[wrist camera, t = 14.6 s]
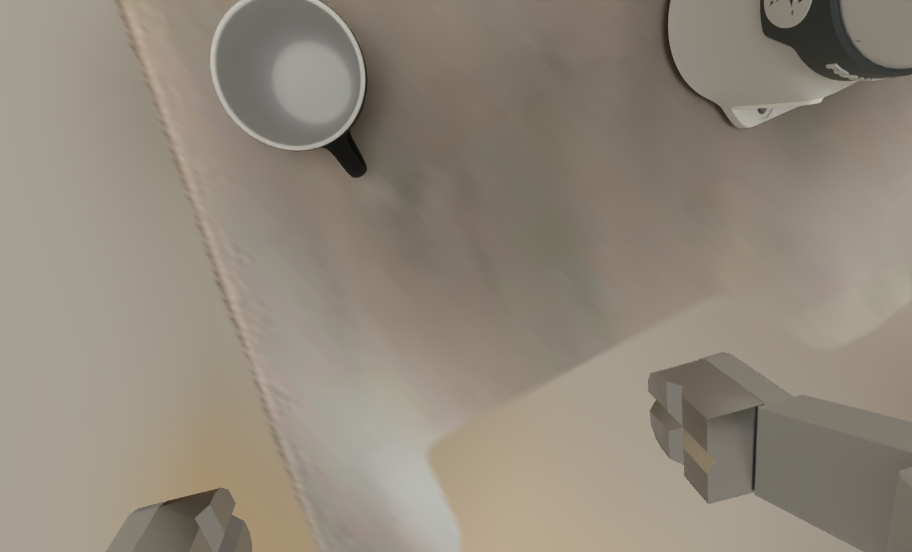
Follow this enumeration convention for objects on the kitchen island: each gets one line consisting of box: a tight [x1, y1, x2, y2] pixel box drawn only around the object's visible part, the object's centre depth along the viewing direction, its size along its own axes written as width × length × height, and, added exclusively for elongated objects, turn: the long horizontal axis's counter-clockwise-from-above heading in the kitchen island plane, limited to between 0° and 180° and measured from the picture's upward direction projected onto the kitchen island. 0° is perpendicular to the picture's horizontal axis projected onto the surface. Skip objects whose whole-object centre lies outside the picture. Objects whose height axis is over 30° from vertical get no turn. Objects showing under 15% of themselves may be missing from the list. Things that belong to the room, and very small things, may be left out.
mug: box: [210, 0, 367, 178], centre depth 33 cm, size 12×9×10 cm
